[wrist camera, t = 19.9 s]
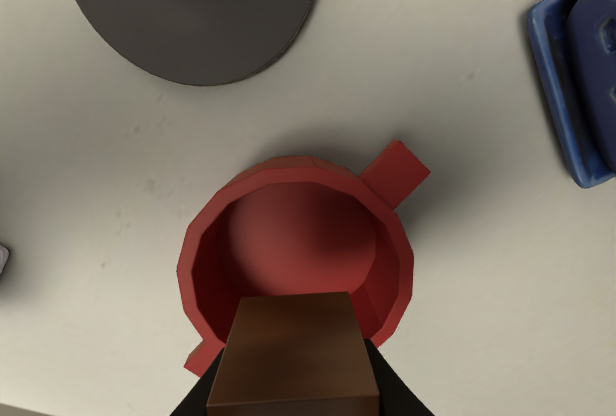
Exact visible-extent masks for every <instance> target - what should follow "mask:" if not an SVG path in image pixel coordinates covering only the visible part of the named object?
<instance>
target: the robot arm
mask: <svg viewBox="0 0 616 416" xmlns="http://www.w3.org/2000/svg"><path fill="white" fill-rule="evenodd" d="M8 256H9V253H8V251H7V249H6V248H4V247H2V246H0V273H1V271H2V269H3V267H4V265H5V263H6V260H7V258H8ZM363 341H364V344H365V347H366V351H367V354H368V357H369V360H370V364H371V367H372V370H373V373H374V377H375V380H376V383H377V387H378V390H379V393H380V407H379V416H435V415H434V414H433V413H432V412H431V411H430V410H429V409H428V408H427V407H426V406H425V405H424V404H423V403H422V402H421V401H420V400H419V399H418V398H417V397H416V396H415V395H414V394H413V393H412V392H411V390H410V389H409V388H408V387H407V386H406V385H405V384H404V382H403V381H402V380H401V379H400V378H399V376H398V375H397V374H396V373H395V372H394V370H393V369H392V368H391V367H390V365H389V364H388V363H387V361H386V360H385V359H384V358H383V356H382V355H381V353H380V352H379V351H378V349H377V348H376V346H375V345H374V343H373V342H372V340H370V339H369V338H363ZM224 349H225V347H223V348H222V349H221V351H220V352H219V353H218V355H217V356H216V358H215V359H214V360H213V362H212V363H211V365H210V366H209V367H208V369H207V370H206V371H205V373H204V374H203V375H202V377H201V378H200V379H199V381H198V382H197V383H196V384H195V386H194V387H193V388H192V390H191V391H190V392H189V393H188V395H187V396H186V397H185V398H184V399H183V401H182V402H181V403H180V404H179V405H178V406H177V408H176V409H175V410H174V411H173V412H172V413H171V415H170V416H208V414H207V409H206V404H207V401H208V398H209V395H210V392H211V389H212V386H213V383H214V380H215V377H216V374H217V370H218V367H219V364H220V361H221V358H222V355H223V352H224Z"/></svg>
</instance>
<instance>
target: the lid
mask: <svg viewBox="0 0 616 416" xmlns="http://www.w3.org/2000/svg"><path fill="white" fill-rule="evenodd" d="M76 2H77V4H78V5H79V7H80V9H81V11H82V12H83V14H84V15H85V17H86V18H87V19H88V21H89V22H90V23H91V25H92V26H93V28H94V29H95V30H96V31H97V32H98V33H99V34H100V36H101V37H102V38H103V39H104V40H105V41H106V42H107V43H108V44H109V45H110V46H111V47H112V48H113V49H115V50H116V51H117V52H118V53H119V54H120V55H121V56H123V57H124V58H126V59H127V60H128V61H130V62H131V63H133V64H134V65H136V66H137V67H139V68H141V69H143V70H145V71H147V72H149V73H150V74H153V75H155V76H158V77H160V78H163V79H166V80H168V81H172V82H176V83H180V84H184V85H192V86H218V85H224V84H230V83H233V82H236V81H239V80H243V79H245V78H247V77H249V76H251V75H253V74H255V73H257V72H259V71H260V70H262V69H263V68H265V67H266V66H268V65H269V64H270V63H272V62H273V61H274V60H275V59H276V58H277V57H278V56H279V55H280V54H282V52H283V51H284V50H285V49H286V48H287V46H288V45H289V44H290V43H291V42H292V40H293V39H294V37H295V36H296V34H297V32H298V31H299V29H300V28H301V26H302V24H303V22H304V19H305V17H306V15H307V13H308V11H309V8H310V5H311V2H312V0H76Z"/></svg>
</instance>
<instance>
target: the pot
mask: <svg viewBox="0 0 616 416" xmlns="http://www.w3.org/2000/svg"><path fill="white" fill-rule="evenodd" d="M430 173H431V172H430V171H429V170H428V169H427V168H426V167H425V166H424V165H423V164H422V163H421V162H420V161H419V160H418V159H417V157H416V156H415V155H414V154H413V153H412V152H411V151H410V150H409V149H408V148H407V147H406V146H405V145H404V144H403V143H402V142H401V141H398V140H393V141H392V142H391V143H390V144H389V145H388V146H387V147H386V148H385V149H384V150H383V151H382V152H381V153H380V154H379V156H378V157H377V158H376V159H375V160H374V161H373V162H372V163H371V164H370V165H369V166H368V167H367V168H366V169H365V170H364V171H363V172H362V173H361V174H360V176H359V177H358V178H357V177H356V176H355V175H354V174H353V173H352V172H351V171H349V170H348V169H346V168H344V167H341V166H339V165H336V164H334V163H332V162H329V161H326V160H323V159H319V158H316V157H314V156H286V157H276V158H271V159H268V160H266V161H264V162H262V163H260V164H257V165H255V166H253V167H252V168H250V169H248V170H246V171H244V172H242V173H240V174H238V175H237V176H236V177H234V178H233V179H232V180H231V181H230V182H228V183H227V184H226V185H225V186H224V187H222V188H221V189H220V190H219V191H218V192H217V193H216V194H215V195H214V196H213V197H212V199H211V200H210V201H209V202H208V203H207V204H206V206H205V207H204V208H203V209H202V210H201V212H200V213H199V214H198V215H197V216H196V217H195V219H194V220H193V221H192V222H191V223H190V225H189V226H188V228H187V231H186V235H185V238H184V242H183V246H182V250H181V253H180V257H179V261H178V265H177V271H176V272H177V277H178V282H179V288H180V293H181V299H182V304H183V309H184V312H185V314H186V315H187V317H188V318H189V320H190V321H191V323H192V324H193V326H194V327H195V328H196V330H197V331H198V333H199V334H200V336H201V337H202V339H203V341H202V342H201V343H200V344H199V345H198V346H197V347H196V348H195V349H194V350H193V351H192V352H191V353H190V354H189V356H188V358H187V361H186V363H185V365H184V368H186V369H188V370H189V371H191V372H192V373H194V374H195V375H197V376H198V377H200V378H201V377H202V375H203V374H204V373H205V371H206V370H207V369H208V367H209V366H210V365H211V363H212V362H213V360H214V359H215V358H216V356H217V355H218V353H219V352H220V351H221V349H222V348H223V347H225V346H226V343H227V340H228V337H229V334H230V331H231V328H232V324H233V321H234V318H235V315H236V312H237V309H238V306H239V303H240V300H241V298H242V297H259V296H276V295H292V294H309V293H326V292H343V291H348V292H349V295H350V298H351V302H352V305H353V308H354V311H355V315H356V318H357V321H358V324H359V328H360V331H361V334H362V338H369V339H370V340H372V342H373V343H374V345H375V346H376V348H378V347H379V346H380V345H382V344H383V343H384V342H385V341H386V340H387V339H388V338H389V337H391V336H392V335H393V333H394V332H395V330H396V328H397V326H398V324H399V322H400V320H401V318H402V316H403V314H404V312H405V310H406V308H407V306H408V304H409V302H410V300H411V297H412V288H413V269H414V254H413V251H412V249H411V246H410V244H409V241H408V239H407V236H406V234H405V232H404V229H403V227H402V224H401V222H400V219H399V217H398V215H397V214H396V213H395V212H394V211H393V210H394V209H395V208H396V207H397V206H398V205H399V204H400V203H401V202H402V201H403V200H404V199H405V198H406V197H407V196H408V195H409V194H410V193H411V192H412V191H413V190H414V189H415V188H416V187H417V186H418V185H419V184H420V183H421V182H422V181H423V180H424V179H425V178H426V177H427V176H428V175H429V174H430Z"/></svg>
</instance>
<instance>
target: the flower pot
mask: <svg viewBox="0 0 616 416" xmlns="http://www.w3.org/2000/svg"><path fill="white" fill-rule="evenodd" d="M526 28H527V33H528V36H529V40H530V43H531V47H532V51H533V54H534V57H535V60H536V64H537V67H538V71H539V74H540V78H541V81H542V84H543V87H544V91H545V94H546V98H547V101H548V104H549V107H550V111H551V114H552V118H553V121H554V124H555V128H556V131H557V134H558V137H559V141H560V144H561V147H562V150H563V154H564V157H565V160H566V163H567V166H568V169H569V172H570V174H571V176H572V178H573V180H574V181H575V182H576V184H577V185H578V186H580V187H581V188H584V189H586V188H590V187H594V186H596V185H599V184H601V183H603V182H605V181H607V180H609V179H611V178H613V177H616V0H542V1H541V2H539V3H538V4H536V5H535V6H534V7H533V8H532V9H531V10H530V11H529V12H528V14H527V18H526Z"/></svg>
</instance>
